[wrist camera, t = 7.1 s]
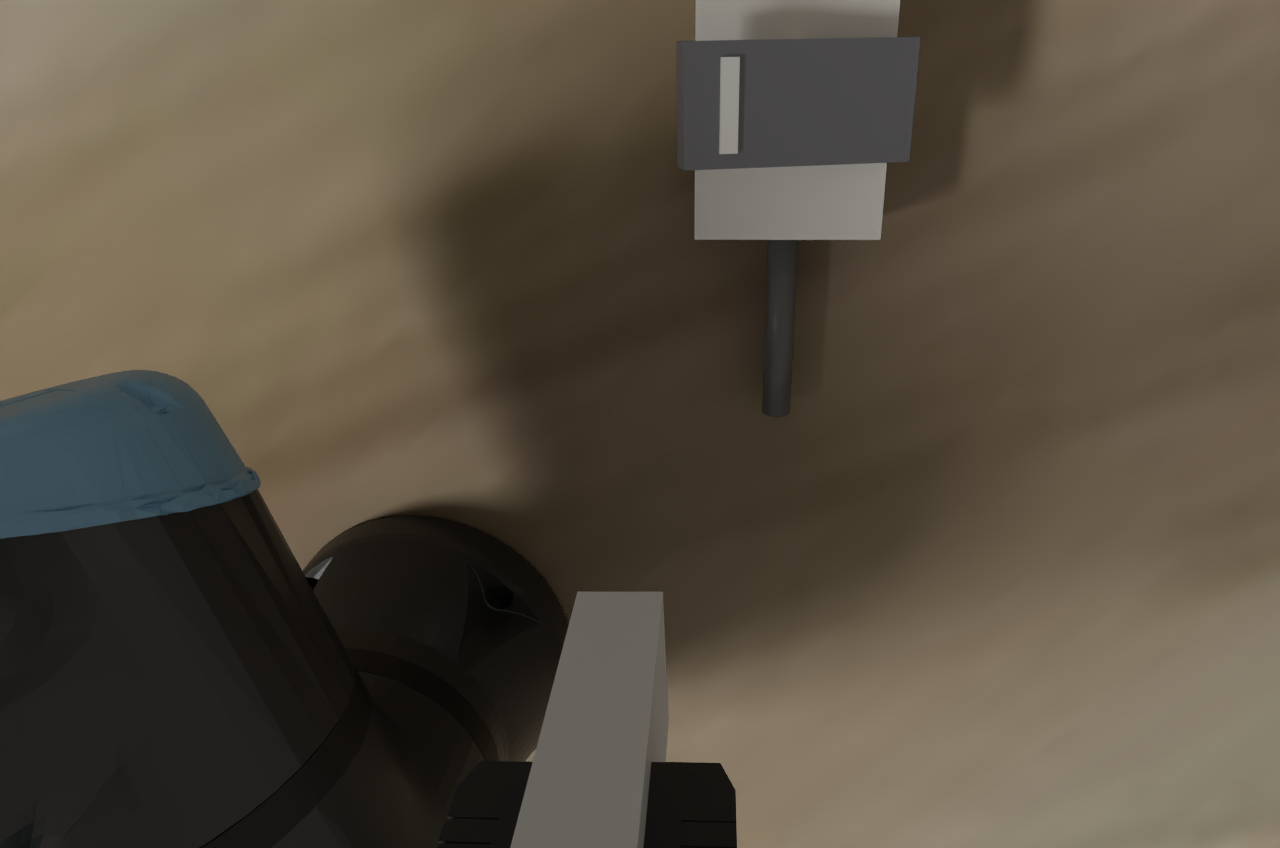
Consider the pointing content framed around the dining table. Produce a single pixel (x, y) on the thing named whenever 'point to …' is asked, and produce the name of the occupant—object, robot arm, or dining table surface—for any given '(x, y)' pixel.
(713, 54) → the block
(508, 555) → the robot arm
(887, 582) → the dining table surface
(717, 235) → the rocker switch panel
